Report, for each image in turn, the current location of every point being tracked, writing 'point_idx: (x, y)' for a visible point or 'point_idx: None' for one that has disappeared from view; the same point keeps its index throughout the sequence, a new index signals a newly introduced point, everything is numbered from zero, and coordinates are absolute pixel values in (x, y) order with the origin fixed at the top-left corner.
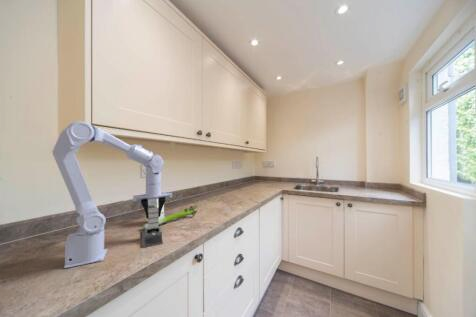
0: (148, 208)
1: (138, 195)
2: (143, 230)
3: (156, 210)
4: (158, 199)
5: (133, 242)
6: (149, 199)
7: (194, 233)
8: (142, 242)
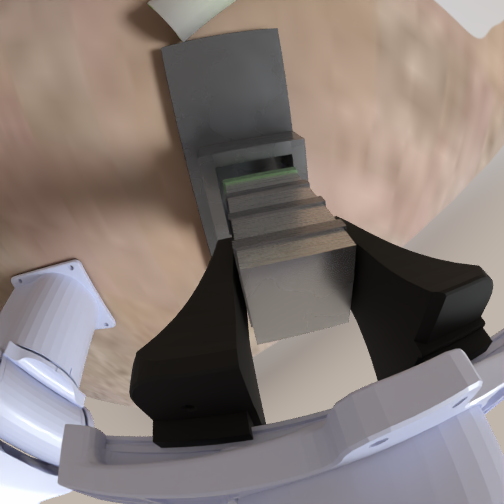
0: (242, 273)
1: (114, 491)
2: (170, 54)
3: (328, 321)
4: (421, 317)
5: (154, 201)
6: (287, 429)
7: (433, 180)
8: (208, 242)
